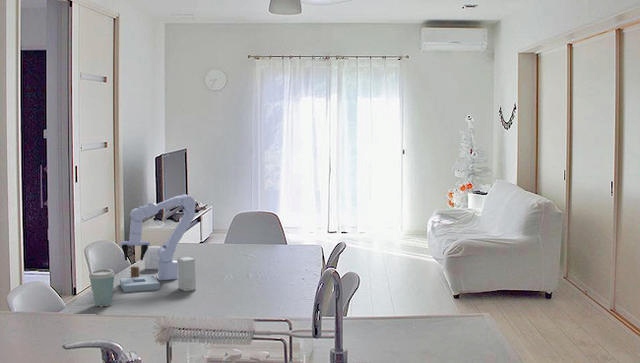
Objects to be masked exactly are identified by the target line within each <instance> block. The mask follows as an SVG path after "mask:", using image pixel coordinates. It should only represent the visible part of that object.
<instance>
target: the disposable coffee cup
mask: <svg viewBox="0 0 640 363" xmlns="http://www.w3.org/2000/svg"><path fill="white" fill-rule="evenodd" d="M89 280H90V284H91V285H90V286H91V290H92V296H93V300H94V305H95V307H97V306H100V307H99V308H104V307H103V306H106V307H109V306H111V305H112V299H113V290H114V280H115V272H114V270H113V269H110V268H98V269H95V270H94V269H93V271H90V274H89Z"/></svg>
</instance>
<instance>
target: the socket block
mask: <svg viewBox="0 0 640 363" xmlns="http://www.w3.org/2000/svg"><path fill="white" fill-rule="evenodd" d="M119 285H120V287H121V289H122V290H123V292H124V293H131V292H144V291H154V290H155V291H156V290H160V282H159V280H158V279H157V277H155V276H154V275H149V276H148V275H147V276H139V277H132V278H131V277H123V278H122V277H120V278H119Z"/></svg>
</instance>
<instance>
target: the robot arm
mask: <svg viewBox="0 0 640 363" xmlns="http://www.w3.org/2000/svg"><path fill="white" fill-rule="evenodd" d="M173 206H176V207H181V209H182V211H183V215H182V217H181V219H180V220H179V221H178V224H177V225H176V227H174V228H175V229H174V230H173V231H172V233H171V235H170V236H169V238H168V239H167V241H165V242H164V244H163V245H162V246H159V247H160V248H159V249H158V252H157V254H158V256H159V257H160V258H159V260H158V269H157V276H156V277H155V278H156V280H157V281H168V280H169V281H170V280H178V260H174V253H175V252H176V248H177V246H178V244H179V242H180V241H181V239H182V237H183V236H184V234H185V233H186V231H187V230H188V228H189V226H190V225H191V223H192V221H193V220H194V219H195V215H196V201H195V199H194V197H193V196H191V195H189V194H186V193H185V194H183V193H182V194H181V195H175V196H174V197H171V198H168V199H166V200H164V201H161V202H159V203H155V202H148V203H147V204H146V205H144V206H138V208H133V209H132V210H131V211H130V213H129V216H130V224H129V225H130V226H129V236H128V237H129V240H121V241H119V246H120V247H121V249H122V252H123V256H124V261H128V251H129V247H131V246H140V258H139V259H140V261H143V260H144V258H145V252H146V251H147V249H148V247H150V246H151V241H146V240H145V241H143V240H142V235H143V234H142V233H143V220H144V218H150V217H152V216H154V215H156V214H158V213H159V211H160V210H164V209H167V208H171V207H173Z"/></svg>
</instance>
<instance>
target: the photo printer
mask: <svg viewBox="0 0 640 363" xmlns="http://www.w3.org/2000/svg"><path fill="white" fill-rule="evenodd" d="M160 247H161V246H158V245H152V246H151V245H150V246H148V249H147V251H146V252H145V255H144V270H158V260H159V258H160V257H159V256H158V254H157V252H158V249H159V248H160Z"/></svg>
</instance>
